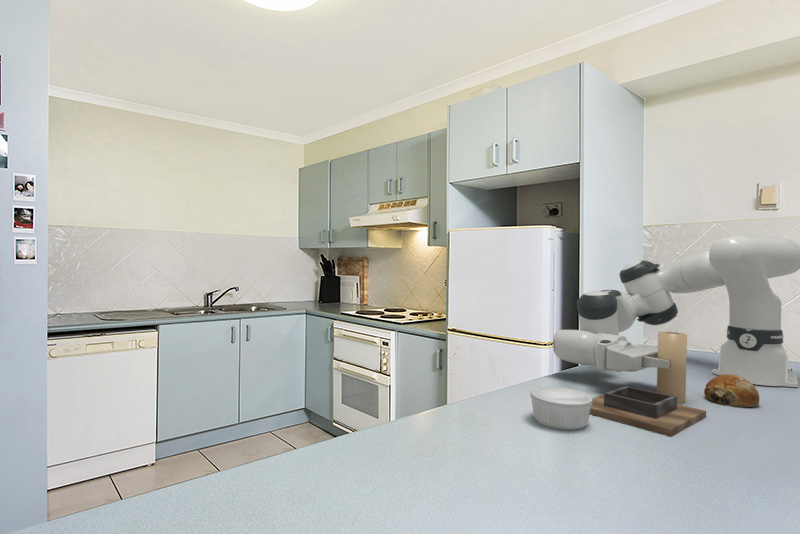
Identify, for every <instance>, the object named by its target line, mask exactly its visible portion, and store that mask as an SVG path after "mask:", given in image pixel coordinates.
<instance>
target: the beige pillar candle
mask: <svg viewBox="0 0 800 534" xmlns="http://www.w3.org/2000/svg"><path fill="white" fill-rule="evenodd" d="M657 336H658V337H657V346H658V359H666V360H670V361H671V367H670V368H668V369H665V368H657V369H656V392H657V393H662V394H666V395H671V396H676V397H677V404H679V405H683V404H685V403H686V396H687V395H686V392H687V391H686V390H687V355H688V354H687V353H688V334H687V333H683V332H677V331H658V332H657Z"/></svg>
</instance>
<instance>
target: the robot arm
mask: <svg viewBox="0 0 800 534" xmlns="http://www.w3.org/2000/svg"><path fill="white" fill-rule="evenodd" d="M660 266H661V265H660V264H659V263H654V262H651V261H648V260H636V261H632V262H629V263H628V264H626V265H625V266H623V268H622V269H621V270H620V271H619V275H618V276H619V279H620V282H621V283H622V284H623V286H624V288H625V291H626V292H624V291H623V292H622V291H620V290H616V289H603V290H596V291H588V292H585V293H583V294H582V295H581V296H580V297H579V298H578V299H577V301H576V306H577V307H576V308H577V312H578V313H577V314H578V322H579V329H558V330H557V331H555V333H554V335H553V340H552V343H553V344H552V347H553V352H554V355H555V356H556V357H557V359H558V358H559V359H561V360H563V361H567V362H568V363H569V362H570V363H572V364H577V365H581V366H594V367H596V370H597V371H598V370H599V371H603V372H607V371H612V372H617V373H619V372H627V373H628V372H631V373H632V372H638V371H641V370H642V371H643V370H645V369H648V368H655V369H656V368H665V369H668V368H670V367H671V361H670V360H666V359H658V345H654V344H645V343H636V344H632V342H630V341H628V339H627V338H626V336H624V335H620V333H621V332H625V331H627V330H629V329H630V328H631V327H632V326H633V325H634V322H635V321H636V319H637V321H638V322H639V323H640V322H641V323H644V324H646V325H651V326H658V325H659V326H660V325H665V324H668V323H670V322H671V321H672V320H674V318H676V317H677V315H678V314H679V311H678V306H677V304H676V302H674V300H673V297H672V295H671V293H672V294H690V293H691V294H692V293H697V292H702V291H706V290H710V289H715V288H718V287H719V288H720V287H722V286H725V287H726V290H727V291H726V292H727V294H728V302H729V317H728V318H729V325H728V326H727V327H726V328H727V329H726V338H727V341H726V342H724V343H722V344H721V345H720V347H719V348H720V349H719V356H718V357H719V358H718V368H712V371H711V372H712V374H714V375H717V376H720V375H723V374H733V375H738V376H741V377H743V378H745V379H747V380H748V381H750V382H751V383H752V384H753V385H757V386H766V387H767V386H768V387H769V386H770V387H787V388H799V387H800V385H799V381H798V376H797V374H796V373H792V371H793V369H792V367H791V366H789V353H788V352H787V351H786V350H785V348H784V346H783V343H784V333H783V330H782V329H781V328H782V300H781V299H780V297H779V296H778V295H777V294H776V293H775V292H774V291H773V289H772V288H771V286H770V283H769V279H772V278H778V277H783V276H789V275H792V274H795V273H796V272H798V271H799V270H800V244H798V242H797V243H796V241H792V240H789V239H786V238H783V237H776V236H759V235H742V234H741V235H740V234H737V235H736V234H735V235H731V236H727V237H726V236H725V237H723V238H719V239H718V240H716V241H715V242H713V243H712V245H711V246H710V249H709V250H706V251H702V252H700V253H697V254H694V255H690V256H687V257H685V258H682V259H680V260H677V261H675V262H673V263H671V264H670V265H668V266H666V267H664V268H661V269H660V268H659V267H660Z"/></svg>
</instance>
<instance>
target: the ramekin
mask: <svg viewBox="0 0 800 534" xmlns="http://www.w3.org/2000/svg"><path fill="white" fill-rule="evenodd" d="M529 393H530V395H529V396H530V398H531V404H532V411H533V412H532V413H533V416H534V418H535V420H536V421H537V422H538V423H539V424H541V425H542V426H544V427H545V426H546V427H549V428H552V429H557V430H562V431H563V430H564V431H575V430H581V429H584V427H586V426H587V425H588V423H589V418H590V414H589V413H590V408H591V405H592V398H593V397H592V396H591V395H589V394H588V393H587V392H584V391H580V390H577V389H573V388H568V387H561V386H541V387H534V388H533V389H532V390H531V391H530V392H529Z"/></svg>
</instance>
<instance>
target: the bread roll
mask: <svg viewBox="0 0 800 534" xmlns="http://www.w3.org/2000/svg"><path fill="white" fill-rule="evenodd" d="M703 391H704V392H703V393H704V397H705V398H706V400H708V401H710V402H713V403H715V404H718V405H723V406H729V407H735V408H737V407H738V408H745V409H747V408H756V407H758V406H759V405H760V394H759V391H758V389H757V388H756V387H755V384H752V383H751V382H750V381H748V380H747V379H745V378H743V377H741V376H738V375H733V374H723V375H717V376H715V377H714V378H713V377H712V379H710V380H709V381H708V382H707V383H706V384H705V387H704V390H703Z"/></svg>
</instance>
